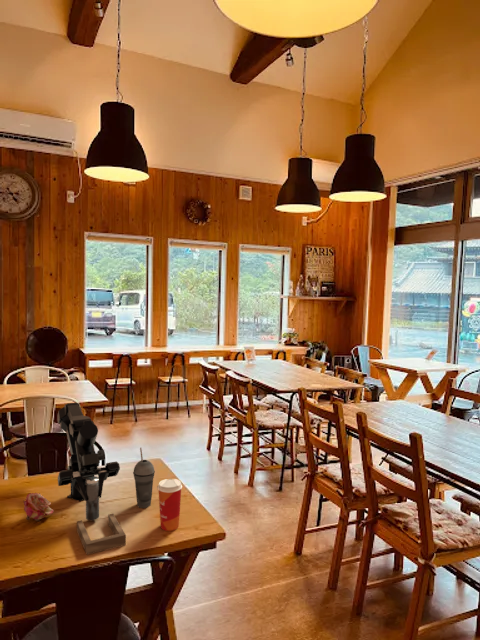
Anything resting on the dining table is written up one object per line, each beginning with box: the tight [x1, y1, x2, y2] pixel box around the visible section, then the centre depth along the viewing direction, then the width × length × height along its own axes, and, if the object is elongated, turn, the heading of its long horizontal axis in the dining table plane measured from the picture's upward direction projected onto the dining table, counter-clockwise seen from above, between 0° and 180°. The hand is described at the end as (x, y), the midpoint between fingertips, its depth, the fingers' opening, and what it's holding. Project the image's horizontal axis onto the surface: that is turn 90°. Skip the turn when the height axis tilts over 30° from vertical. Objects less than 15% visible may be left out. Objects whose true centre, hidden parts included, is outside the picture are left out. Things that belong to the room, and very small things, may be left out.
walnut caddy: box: [76, 513, 127, 556], centre depth 142 cm, size 14×11×3 cm
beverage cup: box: [132, 447, 156, 509], centre depth 162 cm, size 7×7×20 cm
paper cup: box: [157, 478, 183, 532], centre depth 148 cm, size 8×8×14 cm
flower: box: [23, 492, 54, 522], centre depth 153 cm, size 10×9×8 cm
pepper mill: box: [85, 475, 100, 521], centre depth 151 cm, size 4×4×12 cm
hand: (93, 499), depth 150 cm, fingers closed on pepper mill, 4 cm apart
